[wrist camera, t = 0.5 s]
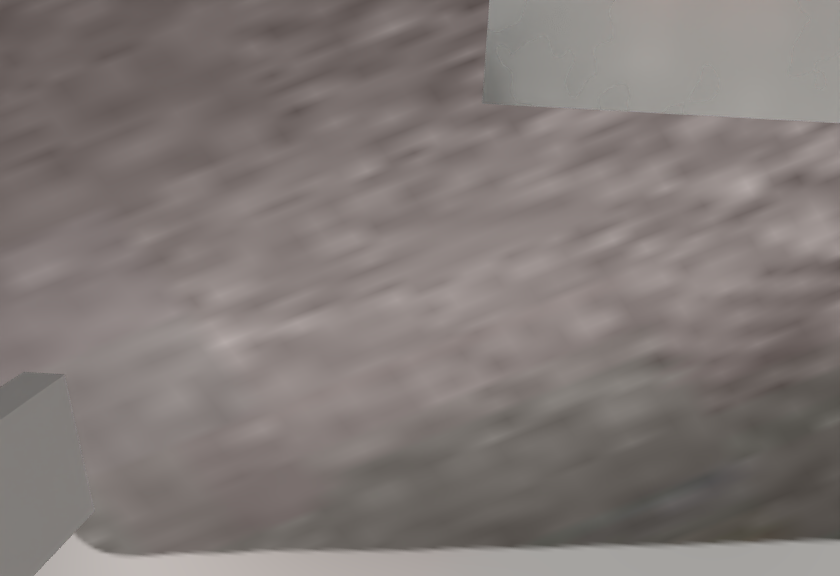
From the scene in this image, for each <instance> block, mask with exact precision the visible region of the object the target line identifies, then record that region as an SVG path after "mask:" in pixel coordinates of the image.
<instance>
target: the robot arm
mask: <svg viewBox="0 0 840 576" xmlns="http://www.w3.org/2000/svg"><path fill="white" fill-rule="evenodd" d="M94 511H95V510H94V505H93V501H92V496H91V492H90V487H89V483H88V478H87V474H86V469H85V465H84V460H83V456H82V451H81V446H80V442H79V437H78V433H77V428H76V424H75V419H74V415H73V410H72V406H71V401H70V397H69V392H68V388H67V383H66V378H65V374H48V373H31V372H23V373H21V374H20V375H18V376H17V377H15V378H14V379H12V380H11V381H9V382H7V383H6V384H4V385H3V386H1V387H0V576H34V575H35V574H36V573H37V572H38V570H40V569H41V567H42V566H43V565H44V564H45V563H46V562H47V561H48V560H49V559H50V558H51V557H52V556H53V555H54V554H55V553H56V551H57V550H58V549H59V548H60V547H61V546H62V545H63V544H64V543H65V542H66V541H67V540H68V539H69V538H70V537H71V536H72V535H73V533H74V532H75V531H76V530H77V529H78V528H79V527H80V526H81V525H82V524H83V523H84V522H85V521H86V520H87V519H88V518H89V516H90V515H91V514H92V513H93V512H94Z"/></svg>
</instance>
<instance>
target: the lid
mask: <svg viewBox="0 0 840 576" xmlns="http://www.w3.org/2000/svg"><path fill="white" fill-rule="evenodd" d="M482 103H484V104H502V105H520V106H538V107H556V108H574V109H592V110H611V111H629V112H647V113H665V114H683V115H701V116H719V117H737V118H755V119H773V120H792V121H810V122H828V123H840V0H489V15H488V29H487V43H486V57H485V71H484V85H483V100H482Z"/></svg>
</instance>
